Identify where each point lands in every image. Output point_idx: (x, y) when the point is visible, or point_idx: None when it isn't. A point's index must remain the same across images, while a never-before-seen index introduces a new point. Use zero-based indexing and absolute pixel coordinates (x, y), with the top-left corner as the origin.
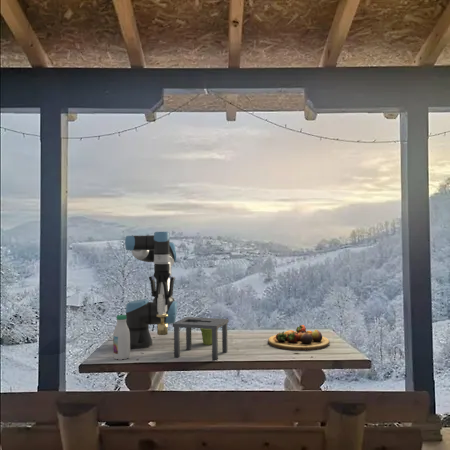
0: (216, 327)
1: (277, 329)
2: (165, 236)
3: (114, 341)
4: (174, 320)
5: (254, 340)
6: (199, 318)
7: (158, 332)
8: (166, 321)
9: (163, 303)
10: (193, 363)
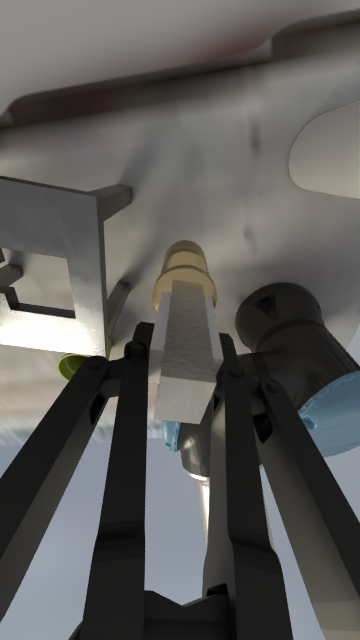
0: None
1: (23, 429)
2: None
3: None
4: None
5: (15, 369)
6: (38, 334)
7: (197, 246)
8: None
9: (166, 324)
10: (27, 98)
